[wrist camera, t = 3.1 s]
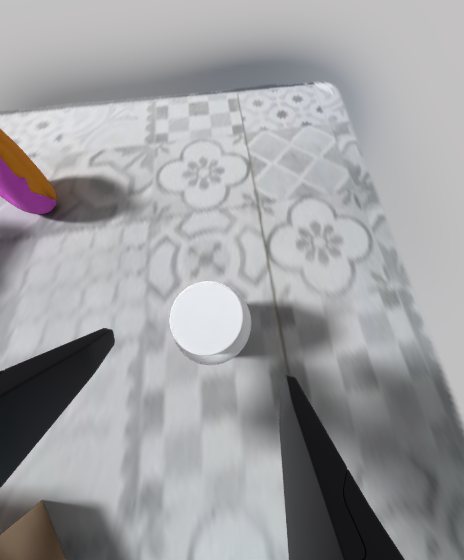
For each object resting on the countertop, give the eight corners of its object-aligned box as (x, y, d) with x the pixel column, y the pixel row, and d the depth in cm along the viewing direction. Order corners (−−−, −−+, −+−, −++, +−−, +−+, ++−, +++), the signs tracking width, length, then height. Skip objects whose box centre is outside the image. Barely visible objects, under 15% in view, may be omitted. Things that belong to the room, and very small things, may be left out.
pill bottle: (238, 298, 20) (243, 260, 11) (251, 349, 18) (270, 357, 9) (189, 309, 20) (150, 280, 10) (197, 363, 18) (160, 385, 9)
